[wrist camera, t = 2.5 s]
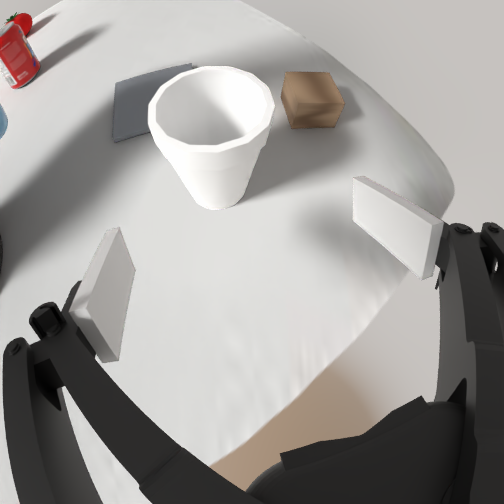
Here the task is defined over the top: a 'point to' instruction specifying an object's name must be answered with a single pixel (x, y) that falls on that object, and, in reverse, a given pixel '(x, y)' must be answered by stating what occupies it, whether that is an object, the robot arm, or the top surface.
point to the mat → (138, 101)
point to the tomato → (22, 21)
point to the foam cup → (212, 130)
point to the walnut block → (311, 100)
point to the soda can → (16, 56)
